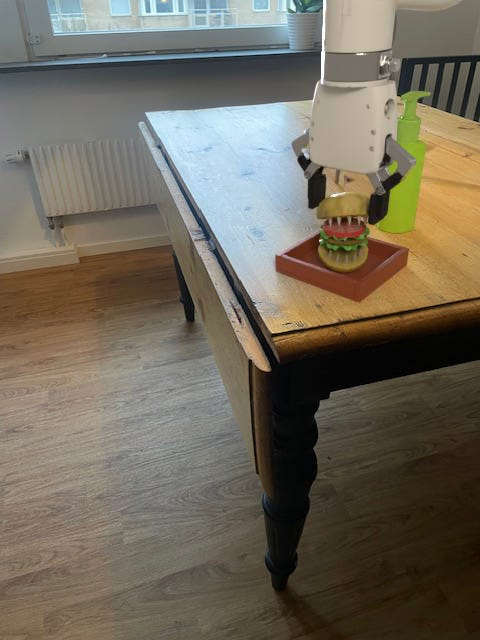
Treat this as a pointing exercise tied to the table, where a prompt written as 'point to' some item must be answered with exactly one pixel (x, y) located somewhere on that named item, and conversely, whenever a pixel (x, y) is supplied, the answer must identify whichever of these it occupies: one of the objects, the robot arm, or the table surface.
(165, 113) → the table surface
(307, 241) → the tray
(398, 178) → the robot arm
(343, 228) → the hamburger
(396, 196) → the soap dispenser
